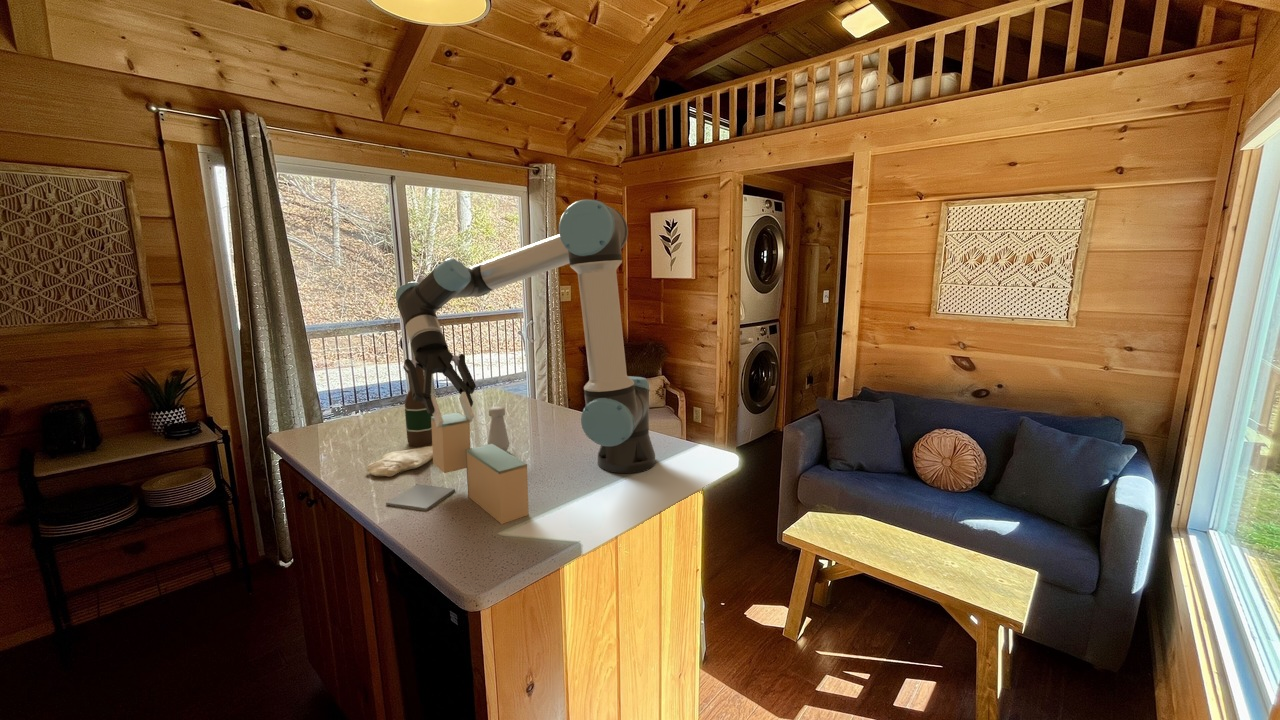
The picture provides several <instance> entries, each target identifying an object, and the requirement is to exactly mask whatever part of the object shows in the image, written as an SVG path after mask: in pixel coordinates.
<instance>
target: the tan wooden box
mask: <svg viewBox="0 0 1280 720" xmlns="http://www.w3.org/2000/svg"><path fill="white" fill-rule="evenodd" d="M466 466H467V468H466V481H467V497H468V498H469V499H471V500H472V502H474V503H475V504H477V505H478V506H479V507H480V508H481V509H483V510H484V511H485V512H486V513H487V514H489V515H490V516H491V517H492V518H494V519H495V520H496V521H497V522H498V523H500V524H501V525H504V524H506V523H509V522H512V521H516V520H518V519H520V518H524V517H526V516H529V512H530V511H529V487H528V486H529V483H528V482H529V481H528V463H526V462H524V461H522V460H521V459H520V458H517V457H516V456H514V455H512V454H510V453H509V452H508V451H507V452H505V451H504V450H502V449H500V448H499V447H497V446H495V445H493V444H488V443H487V444H484V445H480V446H475V447H470V449H466Z"/></svg>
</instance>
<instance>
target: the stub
mask: <svg viewBox="0 0 1280 720" xmlns="http://www.w3.org/2000/svg"><path fill="white" fill-rule="evenodd" d="M441 416H442V419H443V423H442V426H441V428H437V426H436V423H435V420H434V417H433V416H432V417H431V425H432V444H431V446H432V448H433V458H432V464H433V465H434V466H436V467H437V468H438V469H439V470H440V471H441V472H442V473H444V474H446V473H450V472H455V471H460V470H463V469H467V466H466V449H471V426H470V425H471V422H470V420H469V419H467V418H466V416H465V415H463V414H461V413H459V412H452V413H451V412H450V413H446V414H441Z"/></svg>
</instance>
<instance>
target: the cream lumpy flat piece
mask: <svg viewBox="0 0 1280 720" xmlns="http://www.w3.org/2000/svg"><path fill="white" fill-rule="evenodd" d="M431 460H433V448H432V445H426V446H421V447H417V448H409V449H405V450H397V451H396V450H395V451H389V452H388V453H386V454H383V455H382V456H381V459H379V460H377V461H373V462H371V463H368V465H367V466H366V467H365V469H366V471H367V473H369V474H370V475H371V476H374V477H375V476H376V477H388V478H390V477H393V476H395V475H397V473H398V474H400V473H402V472H405V471H410V470H414V469H417V468H419V467H421V466H424V464H427V463H428V462H429V461H431ZM399 472H400V473H399Z"/></svg>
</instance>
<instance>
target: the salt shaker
mask: <svg viewBox="0 0 1280 720" xmlns="http://www.w3.org/2000/svg"><path fill="white" fill-rule="evenodd" d="M505 415H506V409H505V407H504V406H499V405H497V406H496V405H495V406H491V407H490V408H489V409H488V416H490V418H491V419H490V425H489V433H488V439H487V440H488V441H487V445H488V444H493V445H495V446H497V447H499V448H500V449H502V450H504V451H505V452H507V453H508V449H509V448H510V441H509V437H508V436H509V435H508V431H507V428H506V423H505V419H504V416H505Z"/></svg>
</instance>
